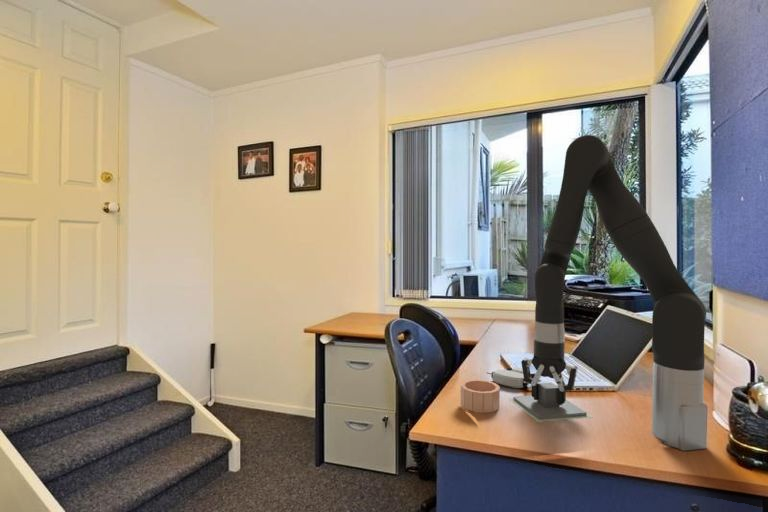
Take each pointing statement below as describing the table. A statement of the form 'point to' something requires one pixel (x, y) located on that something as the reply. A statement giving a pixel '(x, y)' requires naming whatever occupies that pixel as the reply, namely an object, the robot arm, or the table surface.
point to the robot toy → (510, 377)
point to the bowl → (480, 396)
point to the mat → (546, 419)
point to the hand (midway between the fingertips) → (548, 401)
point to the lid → (548, 403)
